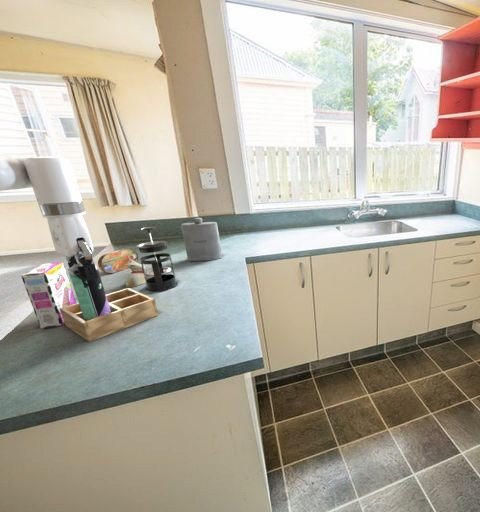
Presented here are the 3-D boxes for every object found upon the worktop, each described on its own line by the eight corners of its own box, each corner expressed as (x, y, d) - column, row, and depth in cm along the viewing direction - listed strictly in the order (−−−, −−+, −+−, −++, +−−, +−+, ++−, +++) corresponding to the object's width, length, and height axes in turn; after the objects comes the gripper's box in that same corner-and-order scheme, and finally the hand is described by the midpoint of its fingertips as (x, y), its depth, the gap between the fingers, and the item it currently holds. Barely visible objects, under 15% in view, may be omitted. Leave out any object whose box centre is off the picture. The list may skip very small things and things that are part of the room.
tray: (89, 341, 78) (83, 323, 76) (65, 325, 86) (59, 308, 84) (158, 315, 92) (154, 298, 90) (133, 303, 99) (128, 287, 98)
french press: (148, 284, 114) (133, 226, 107) (177, 279, 119) (165, 223, 112) (145, 295, 105) (128, 232, 98) (177, 289, 110) (163, 229, 102)
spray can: (115, 325, 83) (95, 258, 77) (89, 332, 80) (65, 263, 73) (112, 318, 87) (92, 253, 81) (86, 325, 83) (63, 258, 77)
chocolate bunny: (152, 281, 116) (146, 257, 113) (127, 288, 110) (120, 263, 107) (146, 278, 119) (140, 255, 116) (122, 285, 113) (115, 260, 110)
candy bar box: (64, 325, 86) (44, 272, 81) (40, 329, 83) (18, 275, 78) (80, 309, 95) (63, 261, 90) (58, 312, 93) (40, 263, 88)
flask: (186, 262, 139) (177, 220, 133) (189, 258, 144) (181, 217, 138) (221, 259, 143) (214, 218, 137) (223, 255, 149) (217, 216, 142)
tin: (105, 276, 122) (99, 256, 119) (99, 275, 122) (93, 256, 120) (140, 264, 136) (136, 246, 133) (135, 263, 136) (130, 246, 134)
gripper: (29, 208, 74) (53, 275, 79) (54, 214, 66) (79, 288, 72) (70, 204, 80) (90, 267, 86) (97, 210, 72) (117, 278, 78)
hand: (85, 276), depth 79 cm, fingers closed on spray can, 5 cm apart
